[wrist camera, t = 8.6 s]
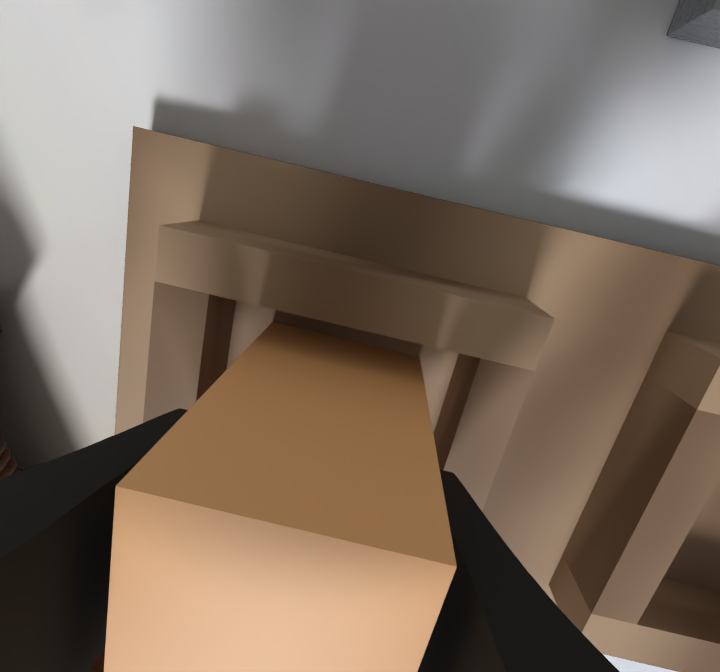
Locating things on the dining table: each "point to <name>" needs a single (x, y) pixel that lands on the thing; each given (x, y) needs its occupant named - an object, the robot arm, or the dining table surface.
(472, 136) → the dining table surface
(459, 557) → the robot arm
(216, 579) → the orange peg
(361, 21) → the dining table surface
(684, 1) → the metal socket
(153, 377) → the walnut rack
